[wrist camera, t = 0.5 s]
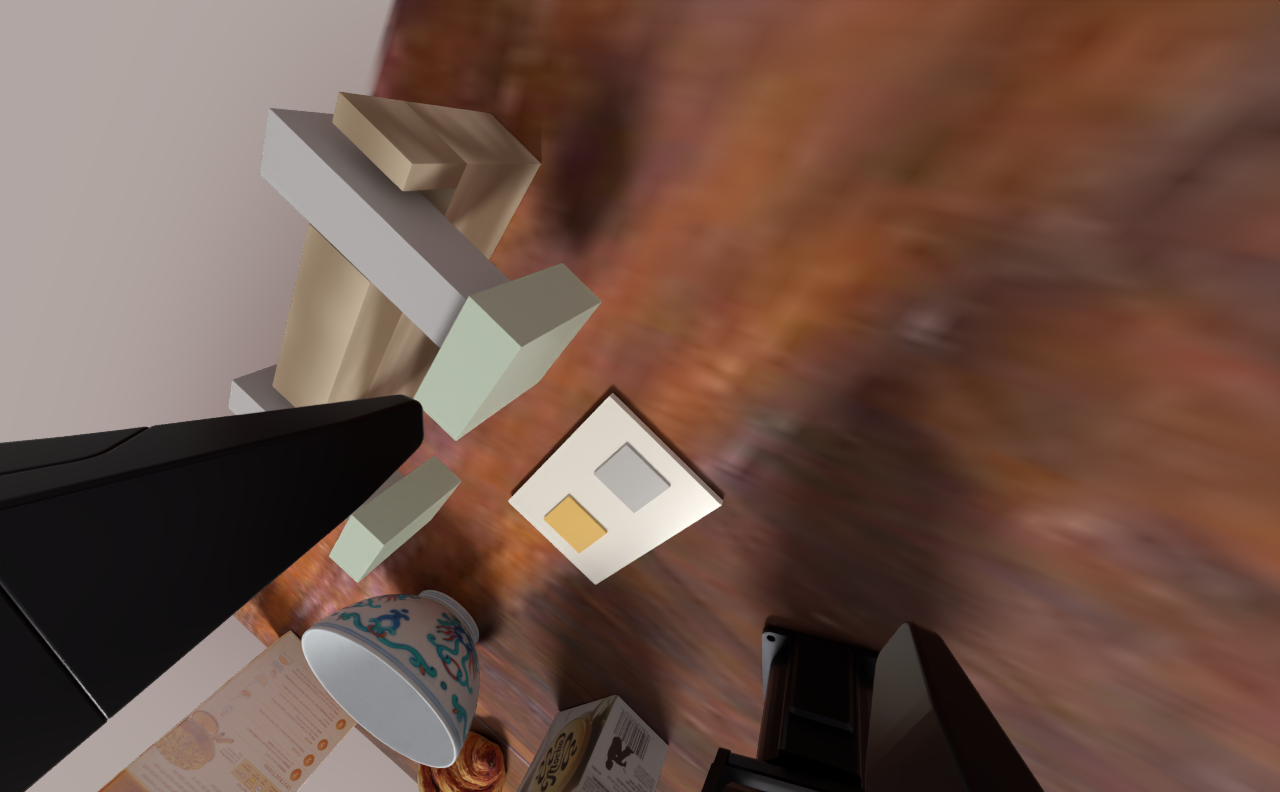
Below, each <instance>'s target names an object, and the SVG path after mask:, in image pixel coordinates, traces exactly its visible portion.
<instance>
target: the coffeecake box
mask: <svg viewBox="0 0 1280 792" xmlns="http://www.w3.org/2000/svg"><path fill="white" fill-rule="evenodd" d="M356 723H357V721H355V720H354V719H353V718H352V717H351V716H350V715H349V714H348V713H347V712H346V711H345V710H344V709H343V708H342V707H341V706H340V705H339V704H338V703H337V702H336V701H335V700H334V699H333V698H332V696H331V695H330V694H329V693H328V692H327V690H326V689H325V688H324V687H323V685H322V684H321V683H320V682H319V680H318V679H317V677H316V676H315V674H314V673H313V671H312V670H311V668H310V666H309V664H308V662H307V660H306V658H305V656H304V653H303V649H302V641H301V640H300V639H299V638H298V637H297V636H296V635H295V634H294V633H293V632H292V630H290V631H288V632H287V633H286V634H284V635H283V636H282V637H280V638H279V639H278V640H276V641H275V642H274V643H273V644H272V645H270V646H269V647H268V648H267V649H266V650H264V651H263V652H262V653H261V654H260V655H258V656H257V657H256V658H255V659H254V660H252V661H251V662H250V663H249V664H248V665H246V666H245V667H244V668H243V669H242V670H241V671H239V672H238V673H237V674H236V675H235V676H234V677H232V678H231V679H230V680H229V681H227V682H226V683H225V684H224V685H223V686H222V687H221V688H220V689H218V690H217V691H216V692H215V693H214V694H212V695H211V696H210V697H209V698H208V699H207V700H206V701H204V702H203V703H202V704H201V705H199V706H198V707H197V708H196V709H195V710H194V711H192V712H191V713H190V714H189V715H188V716H186V717H185V718H184V719H183V720H182V721H180V722H179V723H178V724H177V725H176V726H175V727H173V728H172V729H171V730H170V731H169V732H167V733H166V734H165V735H164V736H163V737H161V738H160V739H159V740H158V741H157V742H155V743H154V744H153V745H152V746H151V747H149V748H148V749H147V750H146V751H145V752H143V753H142V754H141V755H140V756H139V757H138V758H136V759H135V760H134V761H133V762H132V763H130V764H129V765H128V766H127V767H126V768H125V769H123V770H122V771H121V772H120V773H119V774H118V775H117V776H115V777H114V778H113V779H112V780H111V781H109V782H108V783H107V784H106V785H105V786H104V787H103V788H101V789H100V790H99V791H98V792H297V791H298V790H299V789H300V788H301V787H302V785H303V784H304V783H305V782H306V781H307V780H308V778H309V777H310V776H311V775H312V774H313V773H314V772H315V770H316V769H317V768H318V767H319V766H320V765H321V764H322V762H323V761H324V760H325V759H326V758H327V757H328V756H329V754H330V753H331V752H332V751H333V750H334V749H335V747H336V746H337V745H338V744H339V743H340V741H342V740H343V738H344V737H345V736H346V735H347V734H348V733H349V731H350V730H351V729H352V728H353V727H354V726H355V725H356Z"/></svg>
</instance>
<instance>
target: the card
mask: <svg viewBox="0 0 1280 792" xmlns="http://www.w3.org/2000/svg"><path fill="white" fill-rule="evenodd" d="M508 502H509V503H510V504H511V505H512V506H513V507H514V508H515V509H516V510H518V511H519V512H520V513H521V514H522V515H523V516H524V517H525V518H526V519H527V520H528V521H529V522H530V523H531V524H532V525H533V526H534V527H535V528H536V529H537V530H538V531H539V532H541V533H542V534H543V535H544V536H545V537H546V538H547V539H548V540H549V541H550V542H551V543H552V544H553V545H554V546H555V547H556V548H557V549H558V550H559V551H560V552H561V553H562V554H564V555H565V556H566V557H567V558H568V559H569V560H570V561H571V562H572V563H573V564H574V565H575V566H576V567H577V568H578V569H579V570H580V571H581V572H582V573H583V574H584V575H586V576H587V577H588V578H589V579H590V580H591V581H592V582H593V583H594V584H595V585H596V584H598V583H599V582H601V581H602V580H604V579H606V578H607V577H609V576H610V575H612V574H613V573H615V572H617V571H618V570H620V569H621V568H623V567H625V566H626V565H628V564H629V563H631V562H633V561H634V560H636V559H637V558H639V557H640V556H642V555H644V554H645V553H647V552H648V551H650V550H652V549H653V548H655V547H656V546H658V545H659V544H661V543H663V542H664V541H666V540H667V539H669V538H671V537H672V536H674V535H675V534H677V533H679V532H680V531H682V530H683V529H685V528H686V527H688V526H690V525H691V524H693V523H694V522H696V521H698V520H699V519H701V518H702V517H704V516H705V515H707V514H709V513H710V512H712V511H713V510H715V509H717V508H718V507H720V506H721V505H722V502H723V500H722V499H721V498H720V497H719V496H718V495H717V494H716V493H715V492H714V491H713V490H712V489H711V488H710V487H709V486H708V485H707V484H706V483H705V482H704V481H702V480H701V479H700V478H699V477H698V476H697V475H696V474H695V473H694V472H693V471H692V470H691V469H690V468H689V467H688V466H687V465H686V464H685V463H684V462H683V461H682V460H681V459H680V458H679V457H678V456H677V455H676V454H675V453H674V452H673V451H672V450H671V449H670V448H669V447H668V446H667V445H666V444H665V443H664V442H663V441H662V440H661V439H660V438H659V437H658V436H657V435H656V434H654V433H653V432H652V431H651V430H650V429H649V428H648V427H647V426H646V425H645V424H644V423H643V422H642V421H641V420H640V419H639V418H638V417H637V416H636V415H635V414H634V413H633V412H632V411H631V410H630V409H629V408H628V407H627V406H626V405H625V404H624V403H623V402H622V401H621V400H620V399H619V398H618V397H617V396H616V395H615V394H614V393H612V394H611V395H610V396H609V397H608V398H607V399H606V400H605V401H604V402H603V403H602V404H601V405H600V406H599V407H598V408H597V409H596V410H595V411H594V412H593V413H592V415H591V416H590V417H589V418H588V419H587V420H586V421H585V422H584V423H583V424H582V425H581V426H580V427H579V428H578V429H577V430H576V431H575V432H574V433H573V434H572V435H571V436H570V437H569V438H568V439H567V440H566V441H565V442H564V444H563V445H562V446H561V447H560V448H559V449H558V450H557V451H556V452H555V453H554V454H553V455H552V456H551V457H550V458H549V459H548V460H547V461H546V462H545V463H544V464H543V465H542V466H541V467H540V468H539V469H538V470H537V472H536V473H535V474H534V475H533V476H532V477H531V478H530V479H529V480H528V481H527V482H526V483H525V484H524V485H523V486H522V487H521V488H520V489H519V490H518V491H517V492H516V493H515V494H514V495H513V496H512V497H511V498H510V499H509V501H508Z"/></svg>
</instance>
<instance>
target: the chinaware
mask: <svg viewBox="0 0 1280 792" xmlns="http://www.w3.org/2000/svg"><path fill="white" fill-rule="evenodd" d="M478 640H479V631H478V627H477V625H476V623H475V621H474V620H473V618H472V617H471V615H470V614H469V613H468V612H467V610H466V609H465V608H464V607H463V606H462V605H460V604H459V603H458V602H457V601H455V600H454V599H453V598H451V597H449V596H448V595H446V594H444V593H441V592H439V591H435V590H425V591H423V592H421V593H420V594H419V595H418V596H416V595H408V594H391V595H383V596H377V597H373V598H369V599H365V600H362V601H359V602H357V603H354V604H352V605H349V606H347V607H345V608H343V609H341V610H339V611H337V612H335V613H333V614H331V615H329V616H328V617H326V618H324V619H323V620H321V621H320V622H318V623H316V624H315V625H313V626H312V627H310V628H309V629H308V630H307V631H306V632H305V633H304V634H303V636H302V649H303V653H304V656H305V658H306V660H307V662H308V664H309V666H310V668H311V670H312V671H313V673H314V674H315V676H316V677H317V679H318V680H319V682H320V683H321V684H322V685H323V687H324V688H325V689H326V690H327V692H328V693H329V694H330V695H331V696H332V698H333V699H334V700H335V701H336V702H337V703H338V704H339V705H340V706H341V707H342V708H343V709H344V710H345V711H346V712H347V713H348V714H349V715H350V716H351V717H352V718H353V719H354V720H355V721H357V722H358V723H359V724H360V725H361V726H362V727H364V728H365V729H366V730H367V731H368V732H370V733H371V734H372V735H374V736H375V737H376V738H378V739H379V740H380V741H382V742H383V743H385V744H386V745H388V746H389V747H391V748H392V749H394V750H395V751H397V752H399V753H400V754H402V755H404V756H406V757H408V758H410V759H412V760H414V761H416V762H419V763H421V764H424V765H427V766H431V767H436V768H445V767H449V766H451V765H452V764H453V763H454V762H455V761H456V759H457V757H458V755H459V753H460V751H461V749H462V747H463V744H464V742H465V740H466V737H467V735H468V732H469V730H470V727H471V724H472V721H473V718H474V714H475V711H476V706H477V702H478V696H479V686H480V672H479V662H478V656H477V652H476V648H475V644H476V643H477V642H478Z"/></svg>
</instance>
